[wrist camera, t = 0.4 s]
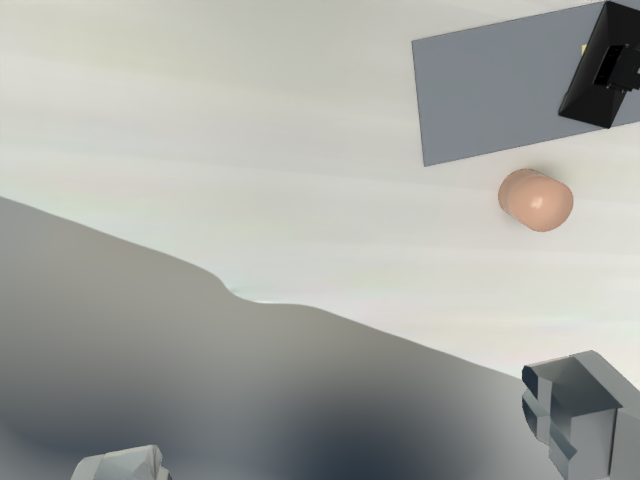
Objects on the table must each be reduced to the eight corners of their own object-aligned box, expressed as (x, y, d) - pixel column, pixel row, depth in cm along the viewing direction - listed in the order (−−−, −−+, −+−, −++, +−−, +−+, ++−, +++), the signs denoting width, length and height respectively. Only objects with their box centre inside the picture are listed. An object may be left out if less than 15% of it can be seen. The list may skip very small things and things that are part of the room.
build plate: (607, 128, 55) (635, 135, 51) (554, 114, 54) (578, 120, 49) (659, 17, 50) (695, 15, 46) (603, -1, 49) (634, -5, 45)
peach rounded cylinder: (497, 174, 56) (521, 187, 50) (544, 164, 56) (574, 176, 51) (498, 219, 58) (522, 236, 53) (544, 209, 58) (572, 225, 53)
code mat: (411, 41, 49) (412, 41, 49) (670, -13, 50) (673, -13, 49) (424, 166, 55) (425, 166, 54) (657, 116, 55) (659, 117, 55)
